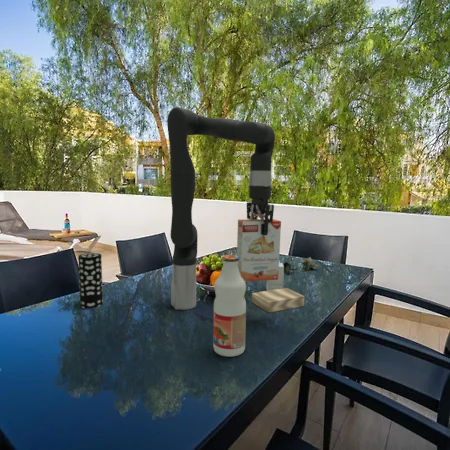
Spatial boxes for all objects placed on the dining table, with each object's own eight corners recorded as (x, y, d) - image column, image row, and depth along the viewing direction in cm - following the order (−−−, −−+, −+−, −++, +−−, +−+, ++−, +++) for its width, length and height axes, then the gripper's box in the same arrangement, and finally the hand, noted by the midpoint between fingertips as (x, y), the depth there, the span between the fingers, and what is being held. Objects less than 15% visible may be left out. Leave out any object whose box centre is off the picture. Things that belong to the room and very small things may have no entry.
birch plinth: (268, 312, 128) (268, 302, 128) (252, 302, 139) (252, 293, 138) (304, 305, 136) (304, 296, 135) (286, 296, 146) (286, 287, 146)
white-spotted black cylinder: (75, 306, 132) (73, 256, 130) (92, 299, 140) (91, 252, 137) (90, 310, 128) (88, 258, 126) (107, 303, 136) (105, 254, 133)
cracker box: (241, 282, 114) (242, 220, 111) (235, 277, 120) (236, 219, 117) (279, 280, 117) (281, 220, 115) (272, 275, 123) (274, 218, 121)
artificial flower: (279, 274, 187) (278, 256, 189) (311, 275, 197) (310, 258, 198) (288, 274, 179) (288, 255, 181) (322, 274, 189) (321, 256, 191)
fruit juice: (247, 356, 96) (249, 259, 92) (214, 358, 95) (215, 260, 91) (242, 341, 105) (244, 252, 101) (212, 342, 104) (213, 253, 100)
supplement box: (282, 289, 157) (283, 262, 155) (283, 294, 149) (284, 266, 148) (266, 288, 157) (266, 262, 156) (266, 293, 150) (267, 266, 148)
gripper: (240, 184, 119) (239, 231, 121) (262, 184, 106) (260, 237, 108) (258, 184, 122) (257, 230, 124) (281, 185, 110) (280, 236, 112)
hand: (258, 233), depth 116 cm, fingers closed on cracker box, 6 cm apart
